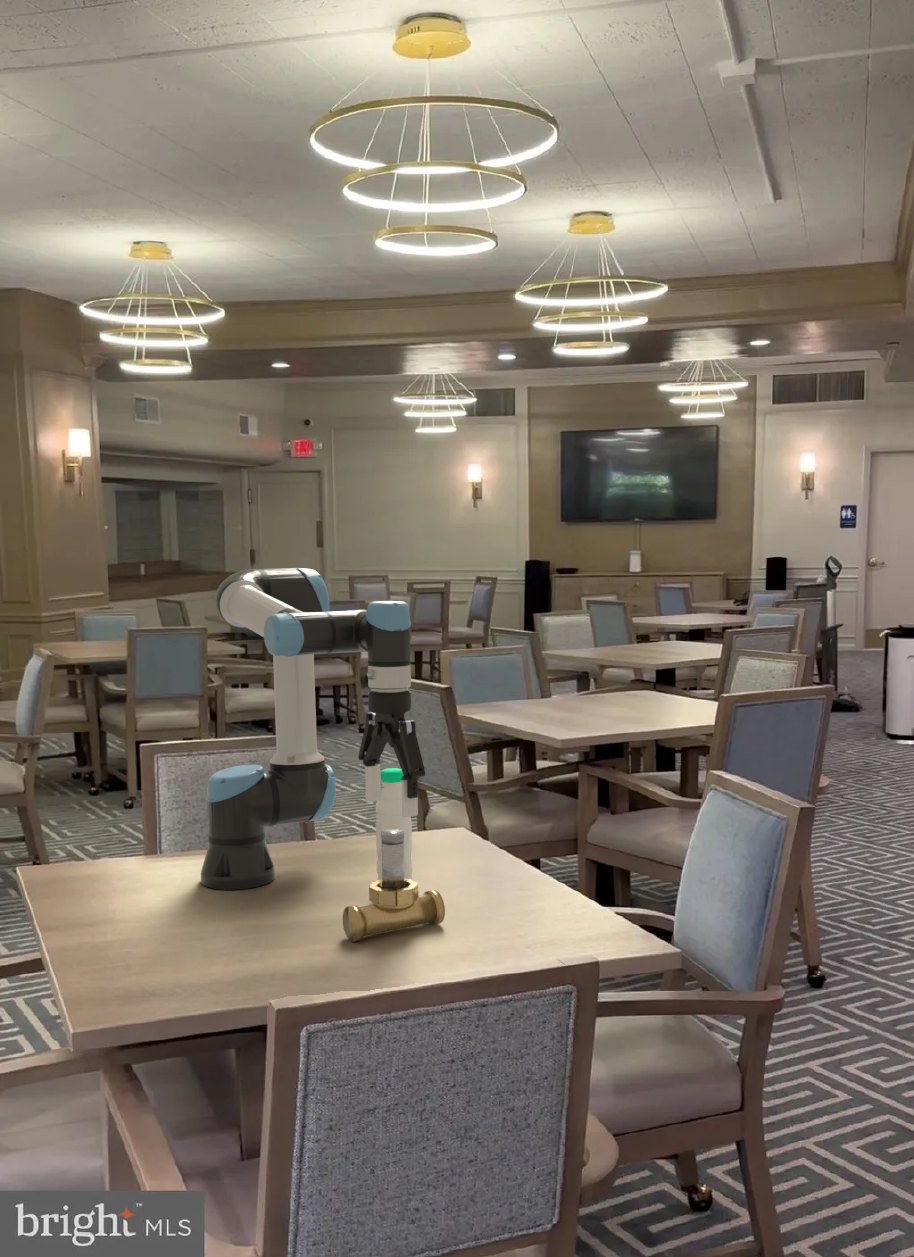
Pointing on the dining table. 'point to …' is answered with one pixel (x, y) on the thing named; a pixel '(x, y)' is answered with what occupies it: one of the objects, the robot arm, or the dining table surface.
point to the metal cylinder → (393, 859)
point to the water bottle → (393, 817)
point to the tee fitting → (393, 910)
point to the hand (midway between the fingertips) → (391, 808)
